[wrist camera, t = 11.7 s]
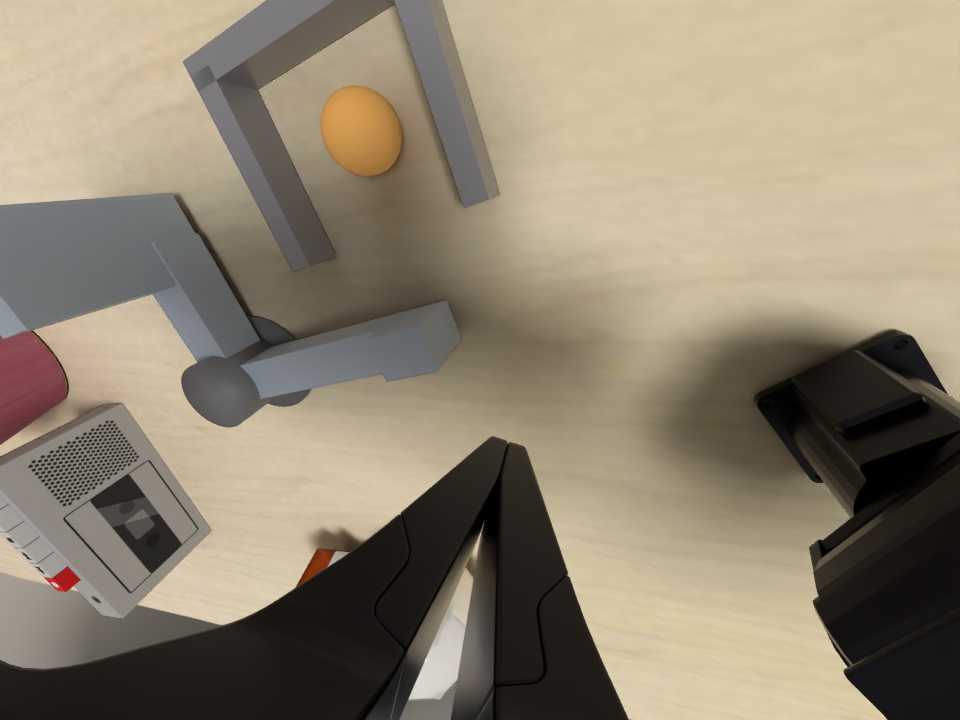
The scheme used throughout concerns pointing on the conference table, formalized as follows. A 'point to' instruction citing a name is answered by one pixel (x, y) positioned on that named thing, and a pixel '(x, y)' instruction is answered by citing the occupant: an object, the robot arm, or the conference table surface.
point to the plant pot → (27, 382)
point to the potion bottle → (447, 643)
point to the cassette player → (97, 509)
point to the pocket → (287, 42)
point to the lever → (191, 303)
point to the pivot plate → (274, 337)
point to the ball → (361, 130)
